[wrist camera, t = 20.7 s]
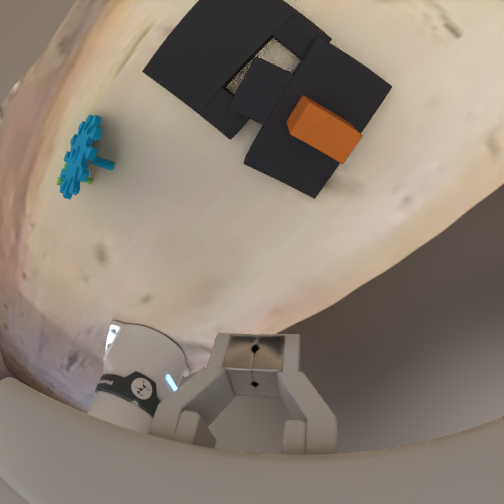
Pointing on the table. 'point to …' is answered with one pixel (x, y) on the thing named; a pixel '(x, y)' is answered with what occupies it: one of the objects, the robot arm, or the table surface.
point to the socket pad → (224, 52)
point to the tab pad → (282, 97)
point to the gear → (82, 157)
